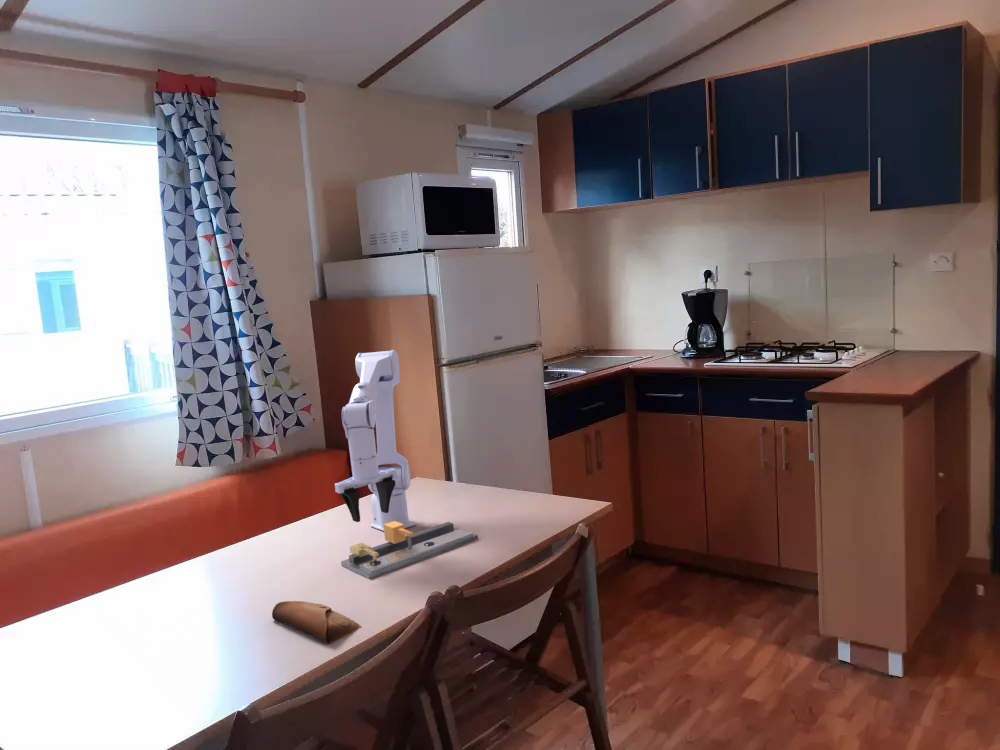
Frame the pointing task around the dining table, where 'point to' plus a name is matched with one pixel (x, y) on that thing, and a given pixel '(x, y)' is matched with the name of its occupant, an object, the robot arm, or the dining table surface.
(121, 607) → the dining table surface
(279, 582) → the dining table surface
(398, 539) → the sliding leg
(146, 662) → the dining table surface
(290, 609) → the sunglasses case
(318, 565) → the dining table surface
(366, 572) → the board
